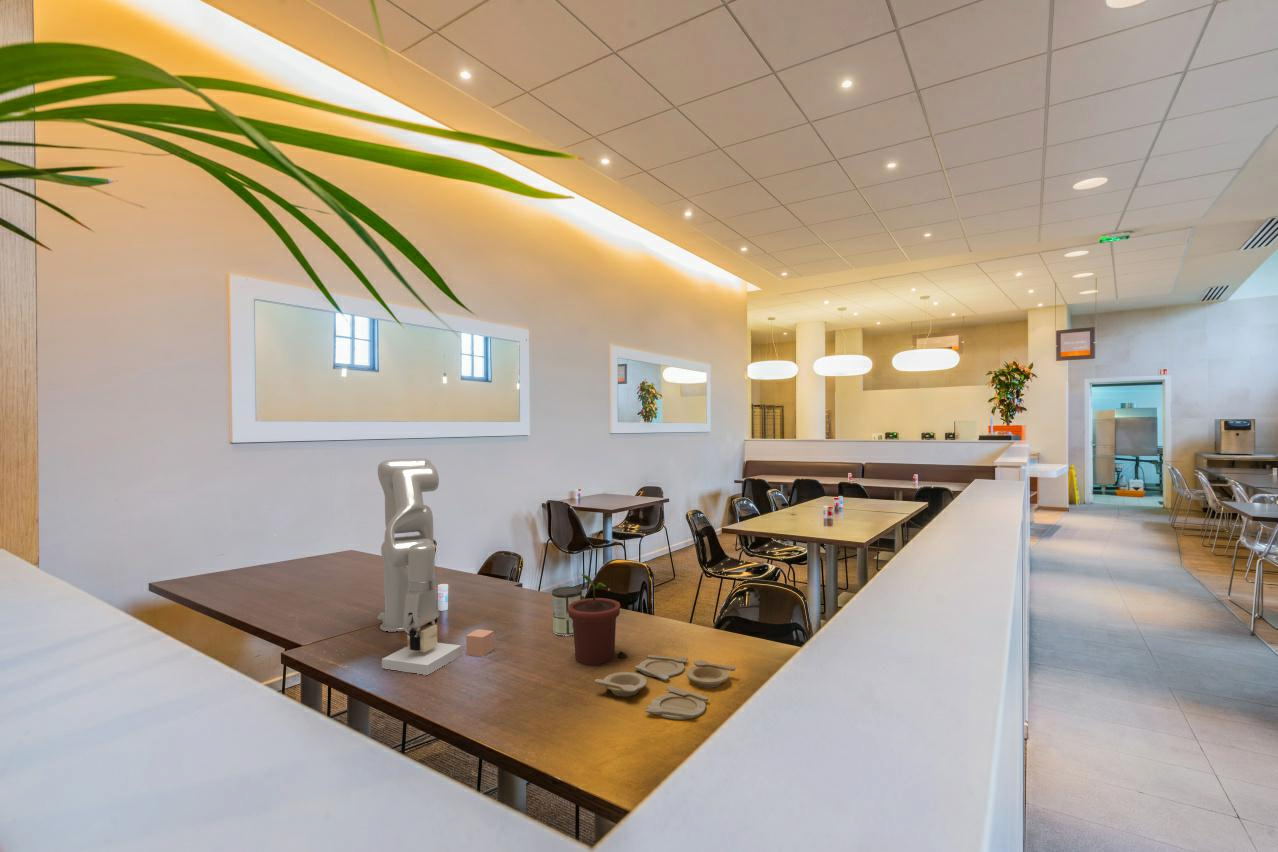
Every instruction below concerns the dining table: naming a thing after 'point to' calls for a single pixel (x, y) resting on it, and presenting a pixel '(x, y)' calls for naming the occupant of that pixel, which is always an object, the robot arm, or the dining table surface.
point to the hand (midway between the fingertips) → (422, 645)
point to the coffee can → (564, 609)
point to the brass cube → (426, 637)
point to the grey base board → (422, 659)
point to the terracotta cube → (479, 642)
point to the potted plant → (594, 628)
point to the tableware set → (677, 701)
